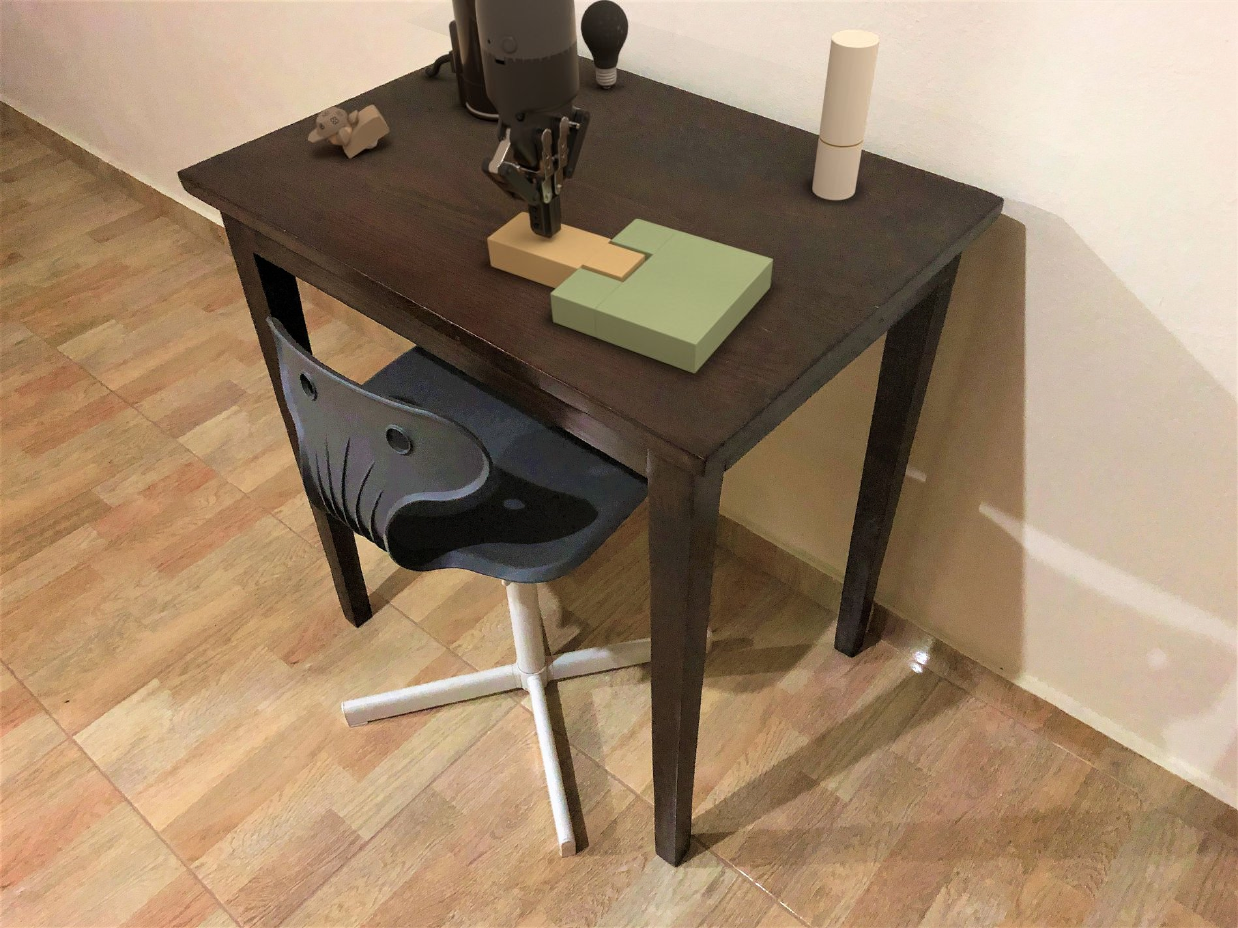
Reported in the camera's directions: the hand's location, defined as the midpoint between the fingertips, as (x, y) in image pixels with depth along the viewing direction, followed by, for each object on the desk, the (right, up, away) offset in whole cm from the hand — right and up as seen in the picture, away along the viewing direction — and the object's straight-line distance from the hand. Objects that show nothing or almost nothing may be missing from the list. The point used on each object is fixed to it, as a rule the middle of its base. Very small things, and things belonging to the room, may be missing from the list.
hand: (546, 232), depth 84 cm
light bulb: (+5, +25, +30) cm, 40 cm away
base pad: (+10, -7, -2) cm, 13 cm away
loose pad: (+2, -3, +2) cm, 4 cm away
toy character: (-23, +14, +20) cm, 34 cm away
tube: (+29, +7, +11) cm, 31 cm away
